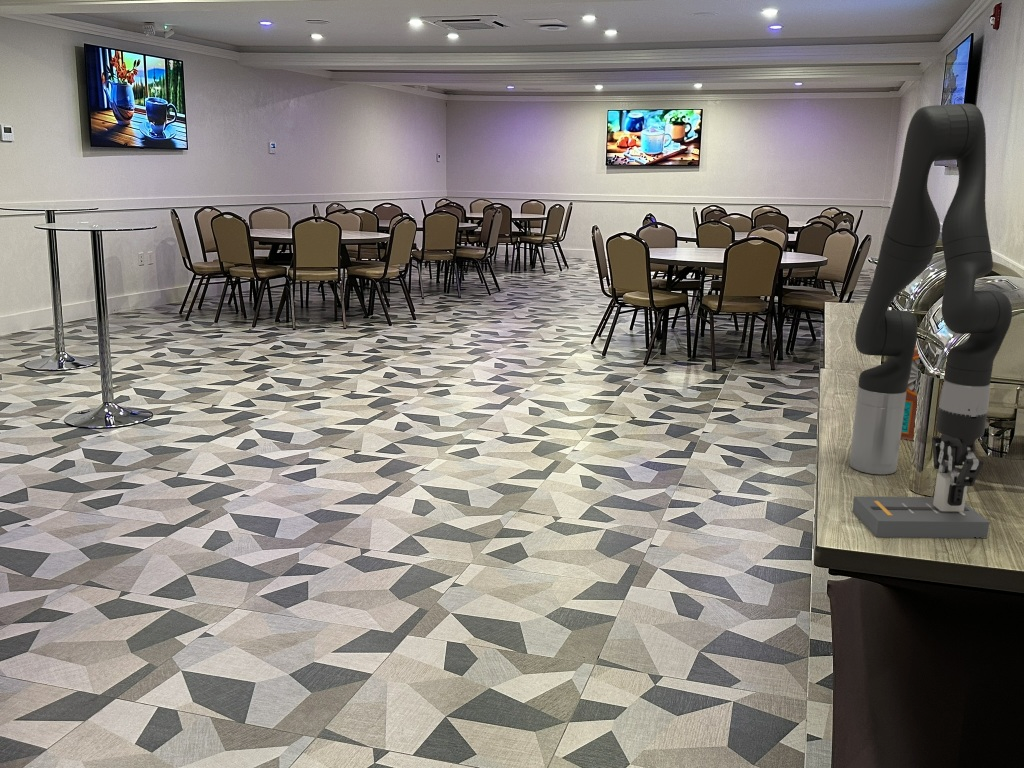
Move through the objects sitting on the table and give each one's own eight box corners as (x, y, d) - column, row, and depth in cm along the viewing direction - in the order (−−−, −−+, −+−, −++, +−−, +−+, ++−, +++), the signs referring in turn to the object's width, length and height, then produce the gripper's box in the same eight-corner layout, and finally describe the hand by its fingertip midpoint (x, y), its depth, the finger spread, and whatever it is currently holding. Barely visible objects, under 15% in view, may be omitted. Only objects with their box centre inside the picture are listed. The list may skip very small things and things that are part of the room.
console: (852, 511, 162) (854, 495, 161) (955, 512, 162) (958, 496, 161) (876, 537, 151) (878, 520, 151) (986, 538, 151) (989, 521, 151)
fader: (932, 504, 157) (937, 471, 156) (955, 504, 157) (960, 471, 156) (940, 511, 154) (945, 477, 153) (963, 511, 154) (968, 477, 153)
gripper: (922, 395, 158) (910, 486, 162) (961, 418, 144) (947, 516, 149) (964, 396, 158) (951, 486, 162) (1007, 419, 144) (991, 517, 149)
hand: (949, 500), depth 156 cm, fingers closed on fader, 3 cm apart
